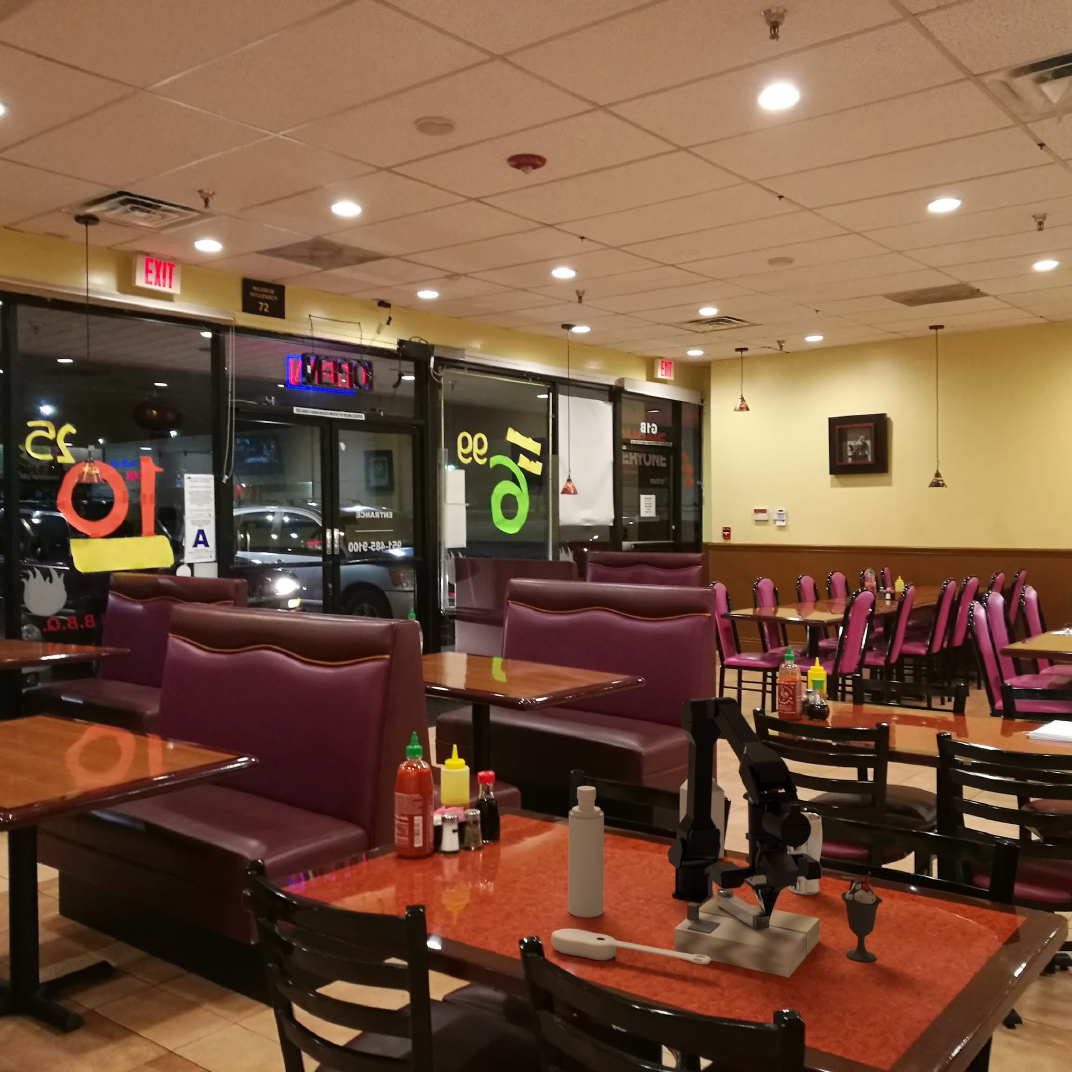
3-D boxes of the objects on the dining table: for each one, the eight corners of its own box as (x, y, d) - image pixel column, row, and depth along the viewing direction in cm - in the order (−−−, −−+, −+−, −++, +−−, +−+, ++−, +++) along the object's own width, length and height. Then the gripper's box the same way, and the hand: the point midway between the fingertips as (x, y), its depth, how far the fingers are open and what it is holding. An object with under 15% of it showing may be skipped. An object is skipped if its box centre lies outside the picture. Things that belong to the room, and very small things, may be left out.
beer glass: (818, 885, 214) (819, 812, 214) (824, 896, 207) (825, 821, 207) (784, 883, 215) (784, 811, 215) (788, 895, 208) (789, 820, 208)
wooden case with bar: (674, 951, 179) (674, 913, 179) (712, 919, 195) (712, 884, 195) (788, 977, 169) (788, 937, 169) (819, 941, 185) (819, 904, 185)
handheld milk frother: (715, 970, 172) (715, 953, 172) (705, 984, 167) (705, 966, 167) (559, 941, 184) (559, 924, 184) (545, 952, 178) (546, 935, 178)
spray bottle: (610, 911, 198) (611, 779, 198) (587, 920, 194) (588, 785, 194) (583, 902, 203) (584, 774, 203) (560, 911, 198) (561, 779, 198)
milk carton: (698, 863, 228) (698, 776, 228) (679, 854, 235) (679, 769, 235) (724, 858, 232) (724, 773, 232) (704, 849, 238) (705, 766, 238)
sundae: (876, 967, 173) (877, 877, 173) (836, 958, 177) (836, 870, 177) (886, 954, 179) (886, 866, 179) (846, 945, 182) (847, 860, 182)
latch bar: (714, 903, 190) (714, 889, 190) (727, 902, 191) (727, 887, 191) (755, 929, 178) (756, 914, 178) (769, 927, 179) (770, 912, 179)
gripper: (733, 849, 171) (735, 944, 171) (837, 839, 175) (839, 931, 175) (707, 830, 182) (709, 919, 182) (806, 820, 186) (807, 908, 186)
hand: (766, 920), depth 181 cm, fingers closed
